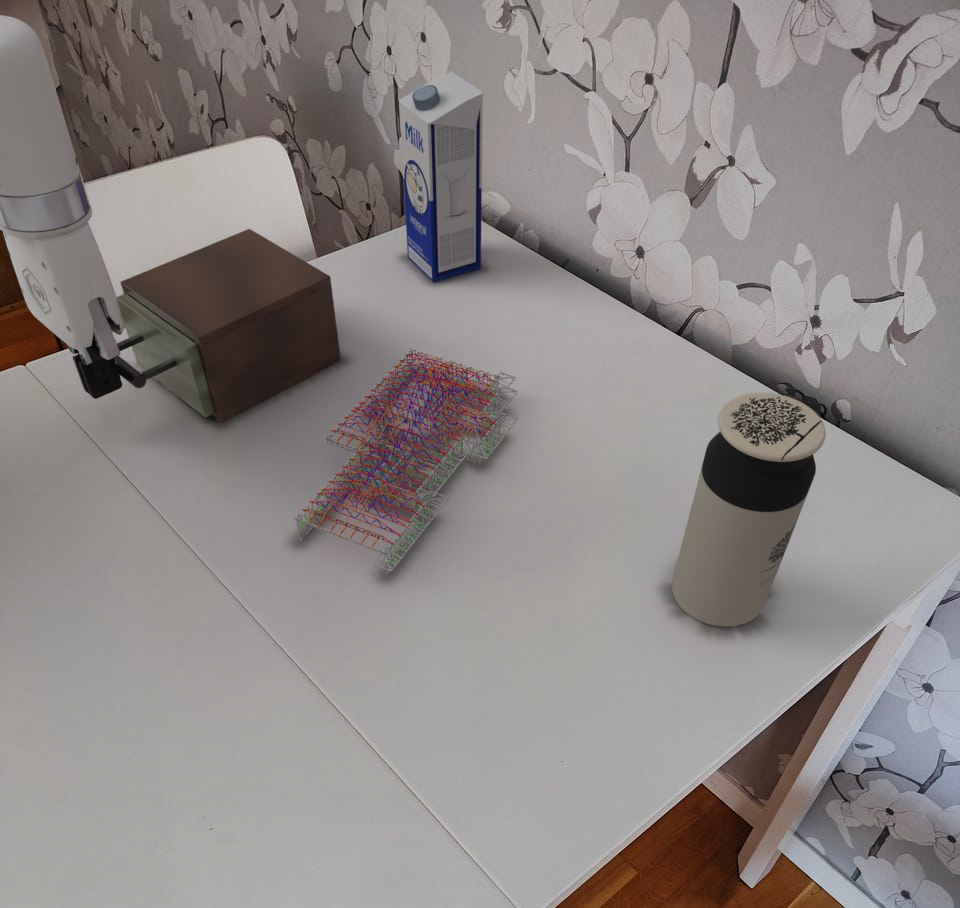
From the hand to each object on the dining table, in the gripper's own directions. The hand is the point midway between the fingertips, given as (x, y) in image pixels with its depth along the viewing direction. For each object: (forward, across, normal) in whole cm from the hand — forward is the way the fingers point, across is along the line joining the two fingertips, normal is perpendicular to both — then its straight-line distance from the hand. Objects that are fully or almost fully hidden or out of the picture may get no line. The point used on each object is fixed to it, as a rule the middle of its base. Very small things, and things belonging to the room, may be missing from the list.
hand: (104, 389), depth 88 cm
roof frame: (+4, +25, +17) cm, 31 cm away
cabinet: (+4, 0, +16) cm, 16 cm away
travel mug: (+4, +56, +25) cm, 62 cm away
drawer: (+3, 0, +11) cm, 12 cm away
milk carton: (+4, -1, +46) cm, 46 cm away
